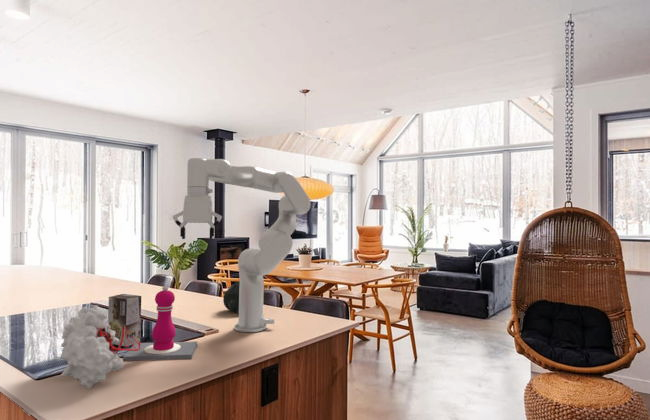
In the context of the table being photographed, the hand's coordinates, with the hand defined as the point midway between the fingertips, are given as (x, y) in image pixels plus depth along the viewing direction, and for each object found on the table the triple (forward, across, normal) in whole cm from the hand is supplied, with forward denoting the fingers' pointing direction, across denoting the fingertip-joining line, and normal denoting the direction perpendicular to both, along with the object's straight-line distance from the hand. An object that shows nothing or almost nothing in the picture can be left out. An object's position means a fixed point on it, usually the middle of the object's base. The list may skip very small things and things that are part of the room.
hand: (197, 238), depth 155 cm
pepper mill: (+34, +8, +16) cm, 39 cm away
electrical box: (+36, +24, +4) cm, 43 cm away
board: (+36, +9, +17) cm, 40 cm away
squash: (+37, -15, -41) cm, 57 cm away
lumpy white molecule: (+36, +23, +34) cm, 55 cm away
